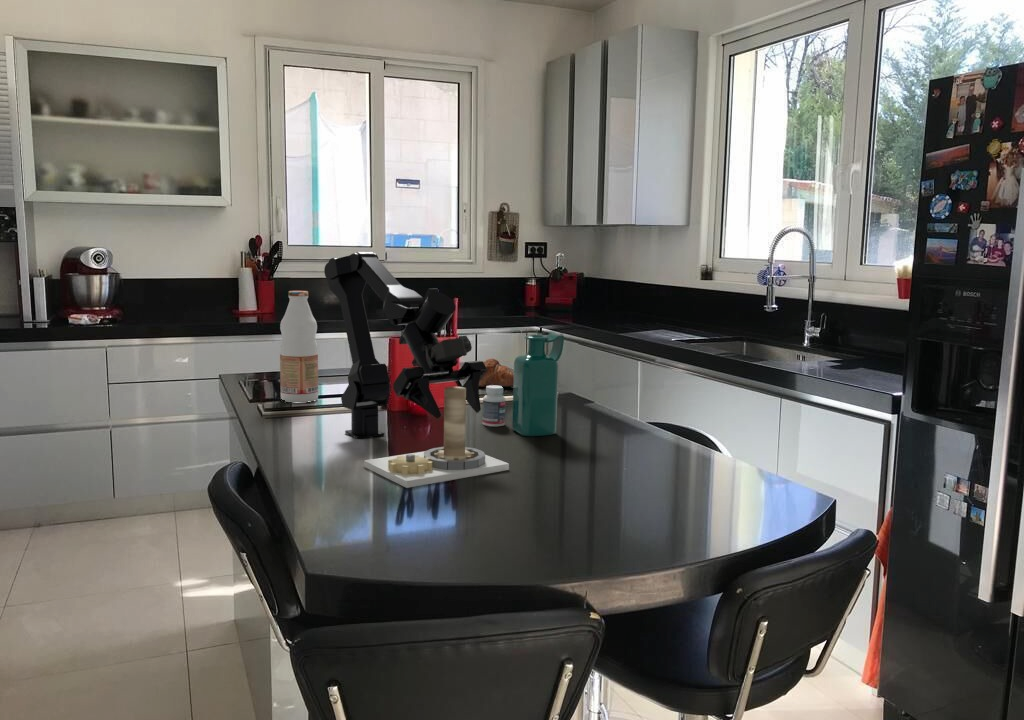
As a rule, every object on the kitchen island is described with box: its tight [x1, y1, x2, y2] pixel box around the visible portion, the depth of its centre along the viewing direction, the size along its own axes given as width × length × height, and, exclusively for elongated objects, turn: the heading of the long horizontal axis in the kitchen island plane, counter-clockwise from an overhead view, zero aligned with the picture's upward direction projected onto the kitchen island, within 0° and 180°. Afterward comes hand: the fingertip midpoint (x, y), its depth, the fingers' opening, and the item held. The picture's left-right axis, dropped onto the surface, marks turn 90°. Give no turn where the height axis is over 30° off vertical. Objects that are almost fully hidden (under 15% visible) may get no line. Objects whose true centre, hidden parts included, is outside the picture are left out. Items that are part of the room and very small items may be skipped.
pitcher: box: [511, 332, 565, 437], centre depth 195 cm, size 10×8×22 cm
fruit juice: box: [279, 290, 319, 402], centre depth 223 cm, size 9×9×28 cm
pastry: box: [479, 358, 514, 387], centre depth 254 cm, size 17×15×8 cm
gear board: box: [363, 446, 510, 489], centre depth 164 cm, size 16×22×4 cm
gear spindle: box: [434, 386, 474, 460], centre depth 164 cm, size 8×8×14 cm
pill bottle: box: [482, 385, 507, 428], centre depth 202 cm, size 5×5×9 cm
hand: (459, 414), depth 163 cm, fingers open, 9 cm apart
